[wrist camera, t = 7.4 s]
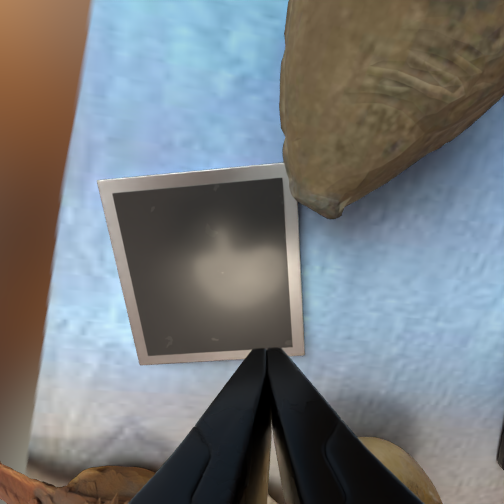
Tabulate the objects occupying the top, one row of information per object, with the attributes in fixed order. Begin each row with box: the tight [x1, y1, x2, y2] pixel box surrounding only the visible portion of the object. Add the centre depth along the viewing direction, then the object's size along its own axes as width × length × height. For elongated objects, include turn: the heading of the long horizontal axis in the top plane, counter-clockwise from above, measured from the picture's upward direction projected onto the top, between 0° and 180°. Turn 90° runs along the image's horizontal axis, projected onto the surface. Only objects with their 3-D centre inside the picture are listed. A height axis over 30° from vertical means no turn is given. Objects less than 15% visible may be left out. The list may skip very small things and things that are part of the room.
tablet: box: [97, 162, 305, 365], centre depth 17 cm, size 11×10×1 cm
